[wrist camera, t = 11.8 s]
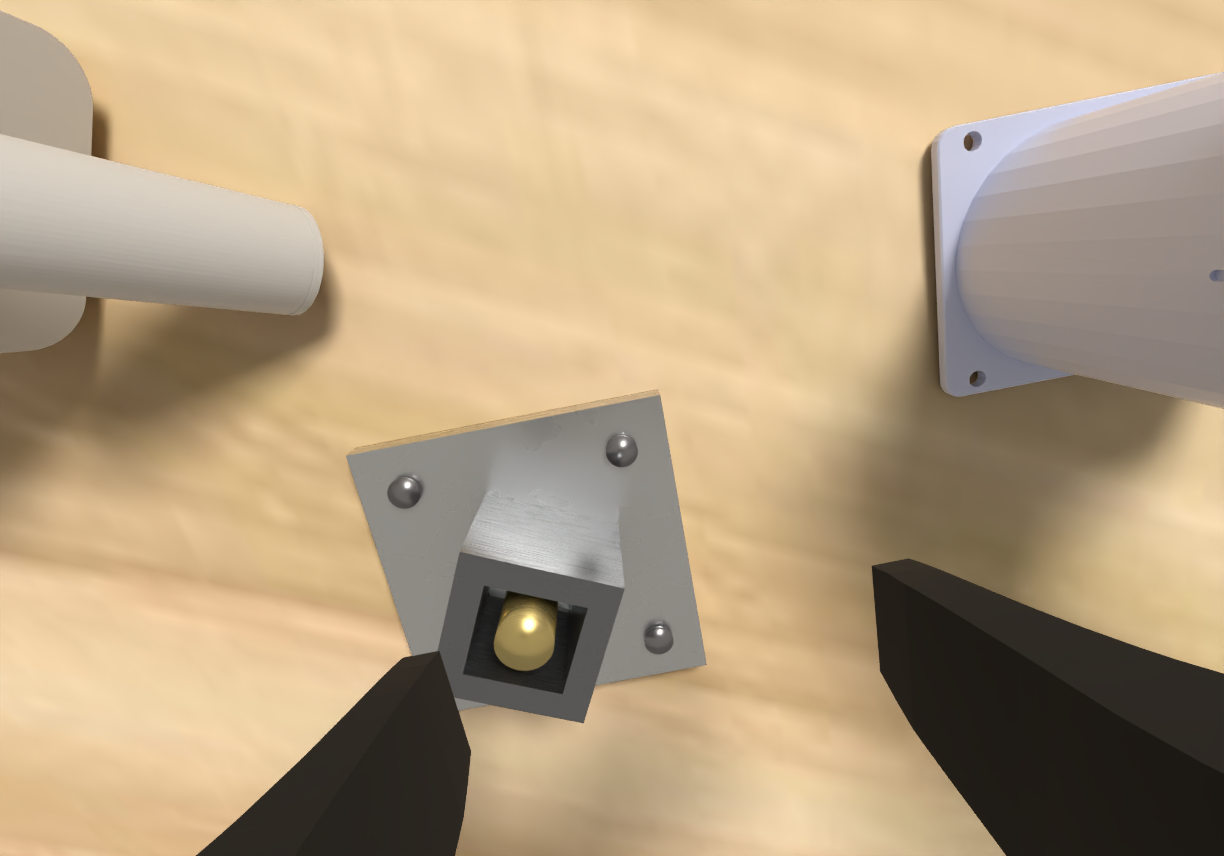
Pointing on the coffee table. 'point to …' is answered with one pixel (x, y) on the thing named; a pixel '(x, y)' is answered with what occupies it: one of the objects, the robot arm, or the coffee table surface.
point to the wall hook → (121, 216)
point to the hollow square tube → (542, 567)
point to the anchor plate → (550, 477)
